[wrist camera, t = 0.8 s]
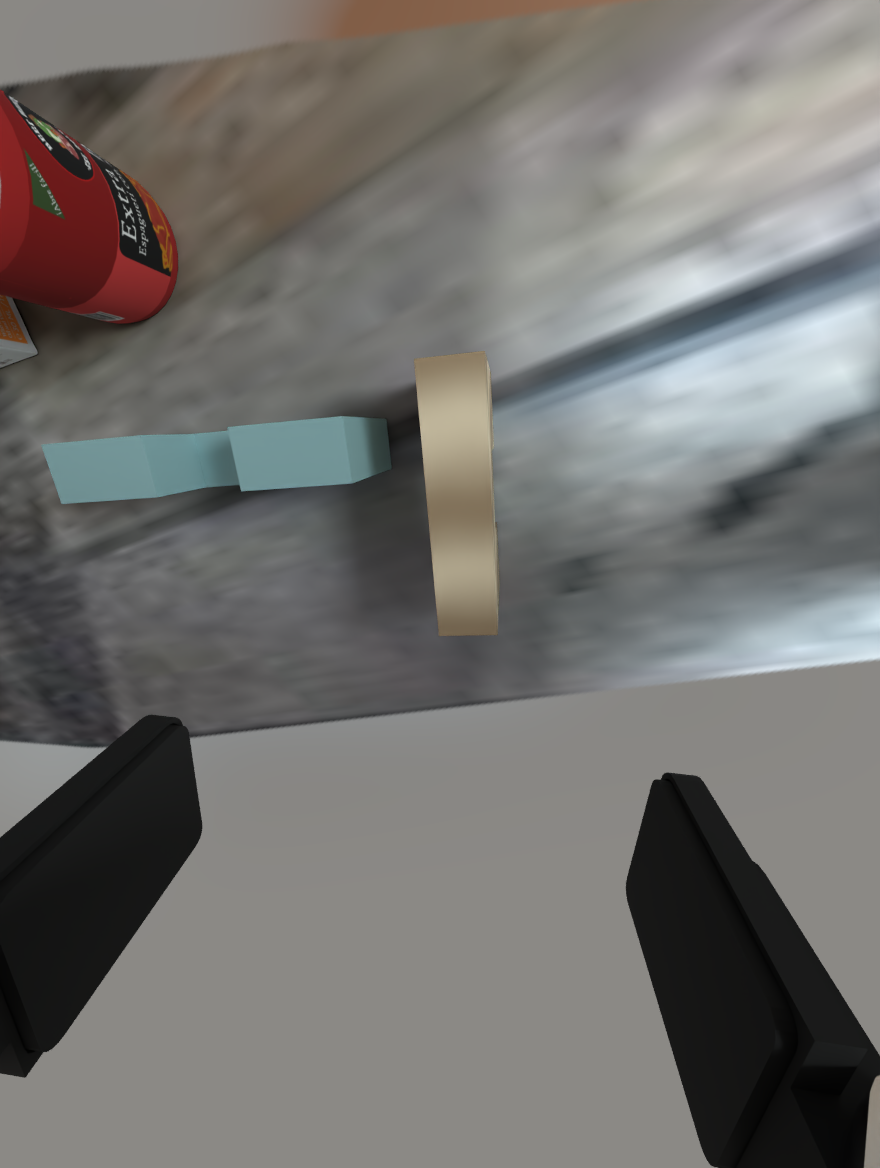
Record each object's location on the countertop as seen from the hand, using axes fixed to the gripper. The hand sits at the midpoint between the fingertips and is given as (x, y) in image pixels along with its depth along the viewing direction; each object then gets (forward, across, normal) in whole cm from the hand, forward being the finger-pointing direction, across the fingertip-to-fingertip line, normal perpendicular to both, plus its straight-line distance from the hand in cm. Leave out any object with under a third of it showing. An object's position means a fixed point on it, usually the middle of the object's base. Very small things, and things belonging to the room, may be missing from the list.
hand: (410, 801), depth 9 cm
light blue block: (+22, +13, -5) cm, 26 cm away
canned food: (+23, +22, -16) cm, 35 cm away
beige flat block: (+22, 0, -4) cm, 22 cm away
